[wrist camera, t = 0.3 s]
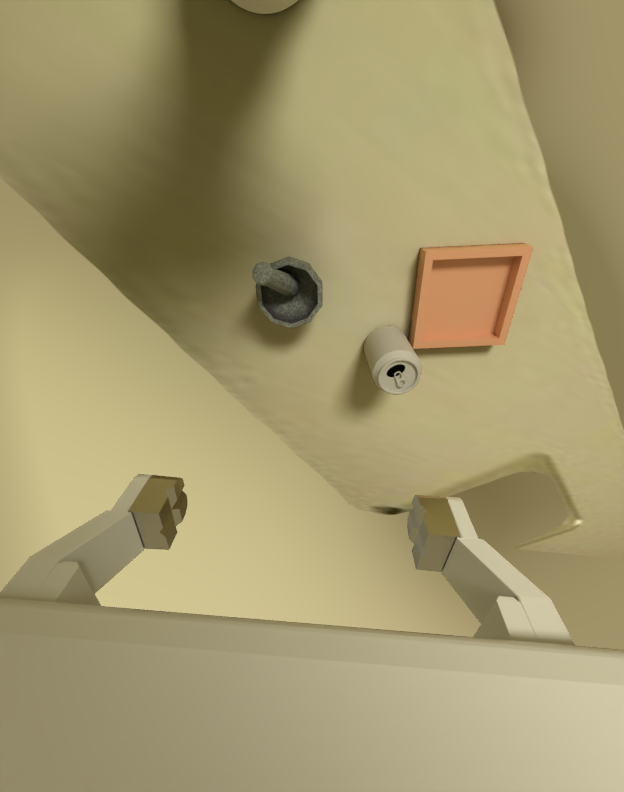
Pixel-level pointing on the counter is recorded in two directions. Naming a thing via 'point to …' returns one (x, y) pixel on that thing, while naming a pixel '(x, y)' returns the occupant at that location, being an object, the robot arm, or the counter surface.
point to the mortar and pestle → (288, 291)
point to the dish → (467, 294)
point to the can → (392, 360)
